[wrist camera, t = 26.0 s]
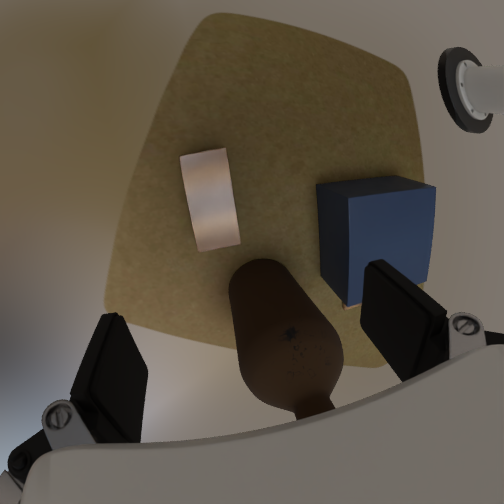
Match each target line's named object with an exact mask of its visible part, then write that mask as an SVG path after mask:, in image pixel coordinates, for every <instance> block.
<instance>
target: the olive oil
mask: <svg viewBox="0 0 504 504" xmlns="http://www.w3.org/2000/svg"><path fill="white" fill-rule="evenodd" d="M229 299H230V304H231V310H232V317H233V324H234V331H235V338H236V346H237V353H238V361H239V367H240V372H241V375H242V378H243V380H244V382H245V383H246V385H247V386H248V388H249V389H250V391H251V392H252V393H253V394H254V395H255V396H256V397H257V398H258V399H259V400H261V401H262V402H264V403H266V404H268V405H271V406H274V407H277V408H280V409H284V410H288V411H291V412H293V413H295V416H296V419H297V420H300V419H304V418H307V417H311V416H314V415H317V414H321V413H324V412H327V411H330V410H333V409H335V407H334V405H333V403H332V401H331V400H330V394H331V393H332V391H333V389H334V387H335V385H336V383H337V381H338V379H339V376H340V374H341V371H342V368H343V361H344V356H343V349H342V344H341V341H340V338H339V335H338V334H337V332H336V330H335V329H334V327H333V326H332V325H331V323H330V322H329V321H328V320H327V319H326V317H325V316H324V315H323V314H322V313H321V311H320V310H319V309H318V308H317V307H316V305H315V304H314V303H313V302H312V300H311V299H310V298H309V297H308V295H307V294H306V293H305V292H304V290H303V289H302V288H301V287H300V285H299V284H298V283H297V282H296V280H295V279H294V278H293V276H292V275H291V274H290V272H289V271H288V270H287V269H286V268H285V267H284V266H283V265H282V264H280V263H279V262H277V261H274V260H270V259H258V260H254V261H251V262H248V263H246V264H245V265H243V266H242V267H240V268H239V269H238V270H237V271H236V272H235V274H234V275H233V277H232V279H231V281H230V284H229Z"/></svg>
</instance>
